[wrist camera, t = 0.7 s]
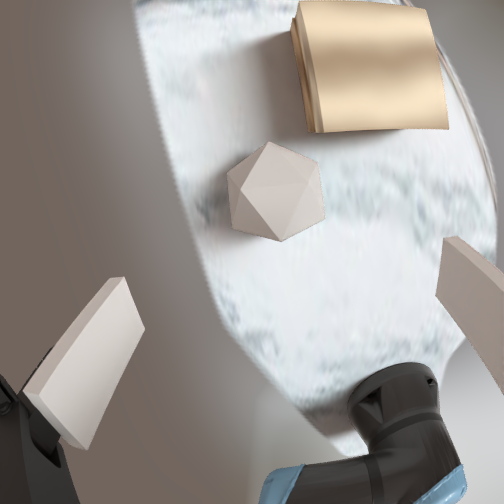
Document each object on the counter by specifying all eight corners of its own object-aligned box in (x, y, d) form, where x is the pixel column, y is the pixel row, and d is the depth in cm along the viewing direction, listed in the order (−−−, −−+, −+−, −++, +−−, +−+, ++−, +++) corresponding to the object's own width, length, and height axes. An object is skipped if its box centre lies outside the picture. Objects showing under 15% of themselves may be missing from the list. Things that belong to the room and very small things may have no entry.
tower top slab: (427, 128, 23) (449, 129, 19) (315, 132, 24) (324, 132, 20) (407, 21, 19) (425, 9, 15) (294, 18, 20) (298, 1, 16)
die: (215, 173, 30) (210, 255, 25) (255, 109, 23) (262, 191, 18) (283, 196, 33) (292, 273, 28) (330, 144, 27) (355, 225, 22)
